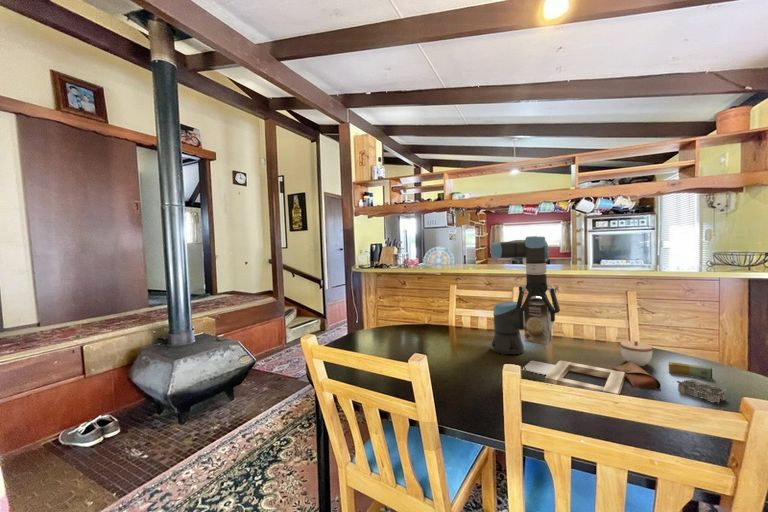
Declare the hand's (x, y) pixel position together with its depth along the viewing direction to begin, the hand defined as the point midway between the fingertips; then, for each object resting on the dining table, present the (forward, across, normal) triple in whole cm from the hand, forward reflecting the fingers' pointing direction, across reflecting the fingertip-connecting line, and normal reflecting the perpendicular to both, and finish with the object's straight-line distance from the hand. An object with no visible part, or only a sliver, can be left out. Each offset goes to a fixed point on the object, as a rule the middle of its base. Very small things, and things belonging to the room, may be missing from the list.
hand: (537, 327), depth 133 cm
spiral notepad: (+17, 0, 0) cm, 17 cm away
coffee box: (+6, 0, 0) cm, 6 cm away
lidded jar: (+17, +30, +28) cm, 45 cm away
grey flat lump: (+18, +48, +7) cm, 52 cm away
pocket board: (+17, +17, -3) cm, 24 cm away
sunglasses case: (+18, +30, +11) cm, 37 cm away
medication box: (+18, +46, +25) cm, 55 cm away
